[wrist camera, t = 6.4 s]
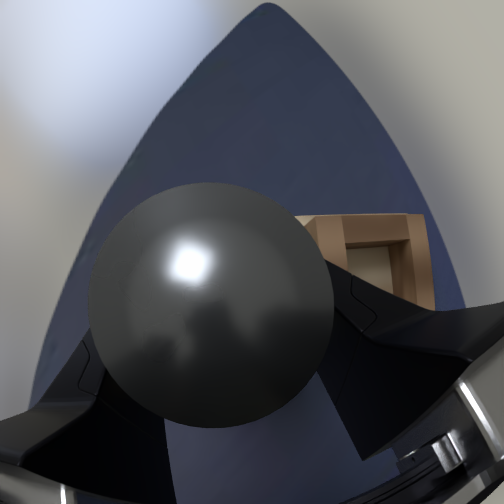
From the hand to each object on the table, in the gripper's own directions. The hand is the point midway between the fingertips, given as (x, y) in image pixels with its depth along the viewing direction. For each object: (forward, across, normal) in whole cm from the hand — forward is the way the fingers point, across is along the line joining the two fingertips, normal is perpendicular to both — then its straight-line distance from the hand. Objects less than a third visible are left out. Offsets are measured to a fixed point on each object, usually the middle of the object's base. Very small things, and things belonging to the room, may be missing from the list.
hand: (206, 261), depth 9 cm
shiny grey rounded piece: (+3, 0, +5) cm, 6 cm away
